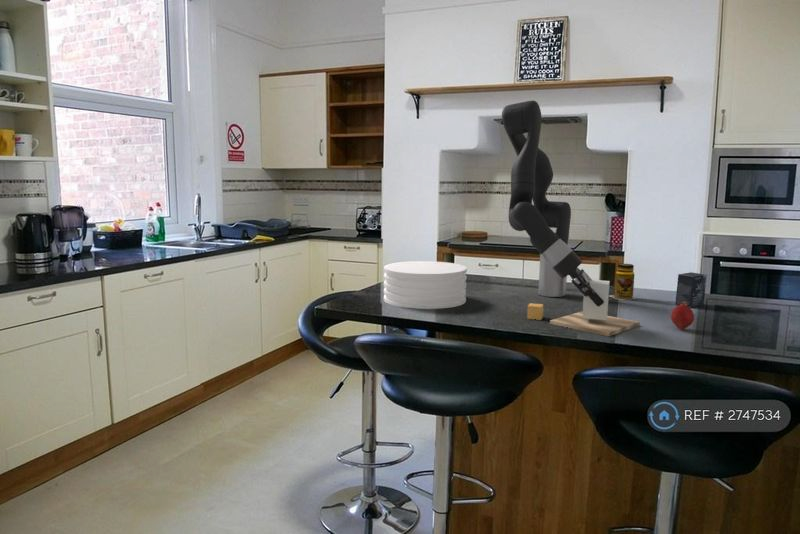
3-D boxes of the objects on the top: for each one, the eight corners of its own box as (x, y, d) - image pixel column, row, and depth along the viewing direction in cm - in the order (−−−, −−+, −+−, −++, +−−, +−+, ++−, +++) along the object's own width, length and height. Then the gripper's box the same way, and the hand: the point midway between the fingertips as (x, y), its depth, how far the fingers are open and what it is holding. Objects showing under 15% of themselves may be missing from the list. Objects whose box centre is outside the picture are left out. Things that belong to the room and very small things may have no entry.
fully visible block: (529, 316, 177) (530, 303, 177) (542, 317, 176) (543, 304, 175) (527, 319, 174) (527, 305, 173) (540, 320, 172) (541, 307, 171)
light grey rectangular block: (584, 312, 171) (586, 279, 169) (607, 315, 168) (609, 281, 167) (582, 317, 165) (584, 282, 163) (606, 320, 163) (608, 284, 161)
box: (691, 308, 189) (694, 276, 188) (674, 305, 194) (677, 273, 192) (704, 305, 194) (707, 274, 192) (688, 302, 198) (690, 271, 197)
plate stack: (436, 313, 180) (436, 276, 178) (366, 301, 197) (366, 267, 195) (481, 299, 202) (482, 266, 200) (415, 289, 219) (415, 258, 217)
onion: (665, 327, 165) (667, 299, 164) (685, 327, 165) (687, 299, 164) (677, 332, 159) (679, 303, 158) (697, 332, 160) (699, 303, 158)
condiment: (622, 300, 200) (625, 266, 198) (605, 296, 208) (607, 262, 206) (639, 299, 203) (641, 265, 201) (621, 294, 211) (623, 261, 209)
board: (582, 314, 180) (582, 311, 180) (639, 325, 167) (639, 321, 167) (549, 323, 168) (549, 320, 167) (608, 336, 155) (609, 332, 154)
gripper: (568, 252, 160) (611, 298, 157) (573, 246, 173) (613, 289, 171) (548, 270, 163) (589, 315, 160) (554, 263, 176) (593, 305, 173)
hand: (601, 301), depth 165 cm, fingers closed on light grey rectangular block, 6 cm apart
